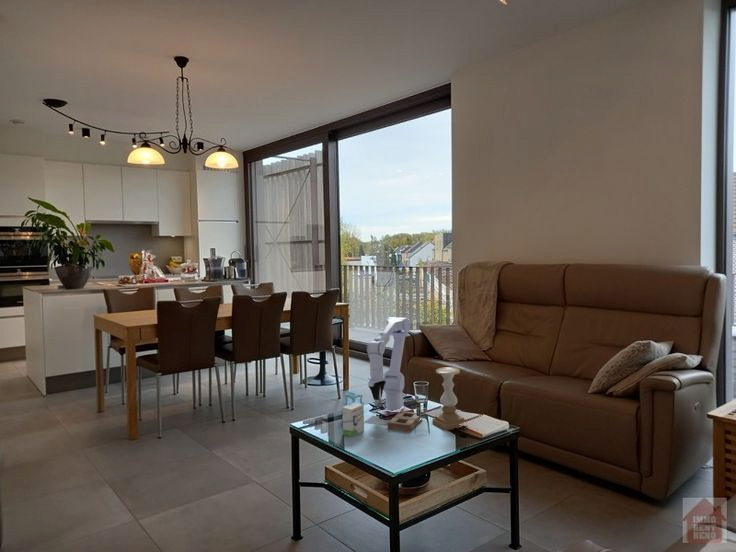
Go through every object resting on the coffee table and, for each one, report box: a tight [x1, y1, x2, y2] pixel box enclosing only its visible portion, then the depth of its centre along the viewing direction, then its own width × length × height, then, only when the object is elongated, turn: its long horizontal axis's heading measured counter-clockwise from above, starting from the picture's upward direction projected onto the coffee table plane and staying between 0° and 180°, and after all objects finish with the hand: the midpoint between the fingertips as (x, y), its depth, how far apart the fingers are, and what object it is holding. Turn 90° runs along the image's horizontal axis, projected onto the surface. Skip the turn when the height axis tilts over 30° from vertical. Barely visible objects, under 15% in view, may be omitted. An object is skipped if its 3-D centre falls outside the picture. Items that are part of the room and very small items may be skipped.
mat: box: [364, 415, 390, 426], centre depth 236 cm, size 10×10×1 cm
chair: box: [341, 391, 365, 419], centre depth 241 cm, size 8×8×12 cm
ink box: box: [342, 403, 365, 438], centre depth 222 cm, size 9×5×12 cm, turn 143°
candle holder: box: [432, 366, 467, 431], centre depth 227 cm, size 11×11×24 cm
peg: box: [373, 384, 382, 407], centre depth 235 cm, size 3×3×9 cm
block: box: [386, 410, 420, 433], centre depth 230 cm, size 16×10×3 cm, turn 156°
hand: (377, 398), depth 236 cm, fingers closed on peg, 3 cm apart
